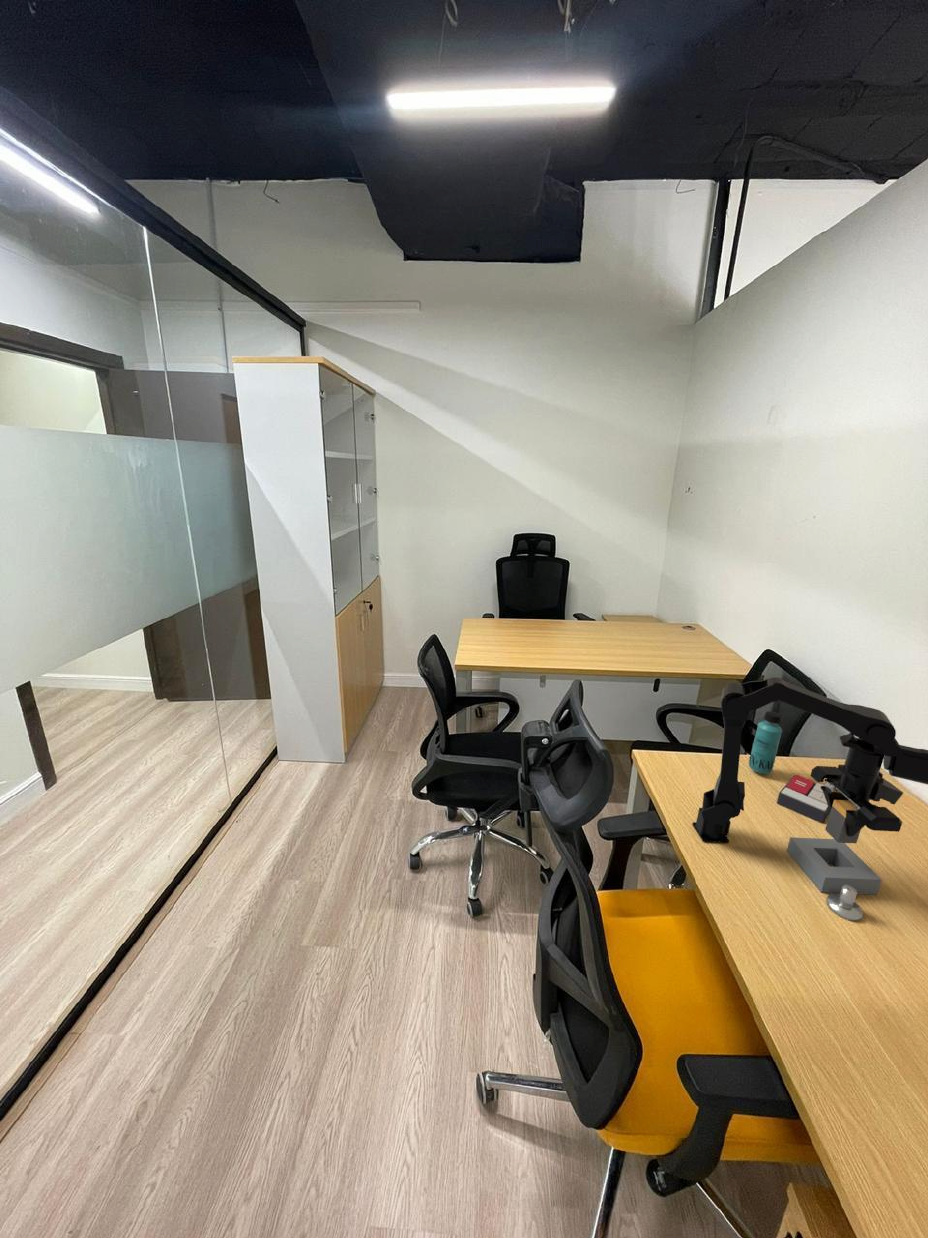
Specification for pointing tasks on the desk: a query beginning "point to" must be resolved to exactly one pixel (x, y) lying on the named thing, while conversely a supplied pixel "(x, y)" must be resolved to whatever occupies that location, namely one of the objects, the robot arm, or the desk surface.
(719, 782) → the robot arm
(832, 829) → the block
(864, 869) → the frame
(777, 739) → the beverage bottle
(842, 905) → the post
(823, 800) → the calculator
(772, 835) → the desk surface
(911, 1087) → the desk surface
